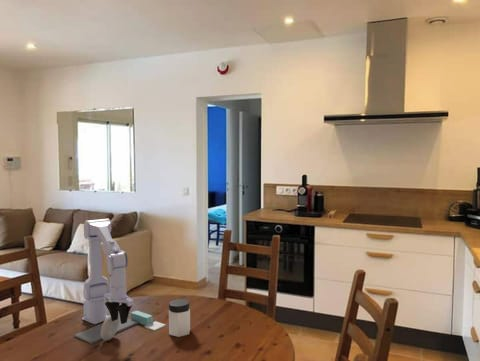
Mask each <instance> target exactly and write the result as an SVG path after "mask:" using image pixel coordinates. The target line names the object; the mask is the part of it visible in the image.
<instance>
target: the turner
mask: <svg viewBox="0 0 480 361" xmlns="http://www.w3.org/2000/svg"><path fill="white" fill-rule="evenodd" d="M153 318H154V316H153V315H151V314H149V313H145V312H142V311H140V310H134V311H132V312H130V319H132V320H135V321H137V322H138V324H139V323H140V325H142V326H143V327H144V328H145V329H148V330H150V331H153V332H156V331H158V330H160V329H162V328H164V327H166V325H167V324H166V323H162V322H159V321H157V320H154V319H153ZM153 320H154V321H153Z"/></svg>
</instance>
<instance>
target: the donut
mask: <svg viewBox="0 0 480 361" xmlns="http://www.w3.org/2000/svg"><path fill="white" fill-rule="evenodd" d="M107 316H108V317H107V318H106V319H105V321H103V325H102V328H101V338H102V340H103V341H110V340H111V339H113V338H114V336H115V335H116V334H117V333H116V331H117V329H118V326H119V317H120V315H118V319H117V320H115V321H112V319H111V316H110V314H108V315H107ZM115 333H116V334H115Z"/></svg>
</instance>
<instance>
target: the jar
mask: <svg viewBox="0 0 480 361" xmlns="http://www.w3.org/2000/svg"><path fill="white" fill-rule="evenodd" d="M190 303H191V302H190V300H188V299H184V298H176V299H173V300H170V301H169V303H168V309H169V310H168V334H169V335H170V336H174V337H178V338H179V337H184V336H187V335H190V332H191V304H190Z"/></svg>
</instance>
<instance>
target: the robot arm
mask: <svg viewBox="0 0 480 361" xmlns="http://www.w3.org/2000/svg"><path fill="white" fill-rule="evenodd" d="M111 232H112V221H111V219H109V218H101V219H100V218H99V219H92V220H91V219H90V220H88V219H87V220H85V222H84V224H83V236H84V239H87V240H88V245H89V246H88V247H89V268H90V270H89V273H90V276H89V277H87V279H86V280H85V281H84V282H83V288H82V289H83V290H82V292H83V293H82V294H83V298H84V301H83V317H82V318H81V319H82V320H84V321H86V322H87V323H91V324H93V325H96V324H97V325H98V324H99V323H102V322H104V321H105V319H106V318H107V317H108V316H109V315H110V316H111V319H112V321H115V320H117V319H118V316H119V317H120V321H121V324H124V323H126V322H127V319H128V318H129V314H130V311H131V309H132V307H133V306H134V305H135V303H134V299H132V298H130V297H129V296H128V295H127V275H126V274H127V272H126V271H127V270H126V268H127V267H128V265H129V264H128V263H129V261H128V259H129V258H128V255H127V252H126V251H124V250H122V249H121V248H120V245H118V244H119V243H118V242H117V240H115V239H113V238H112V235H111ZM102 251H103V253H104V255H105V257H106V266H107V272H108V274H109V279H108V278H107V277H105V276H104V275H103V261H102V259H103V258H102ZM107 310H108V312H109V315H107Z"/></svg>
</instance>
